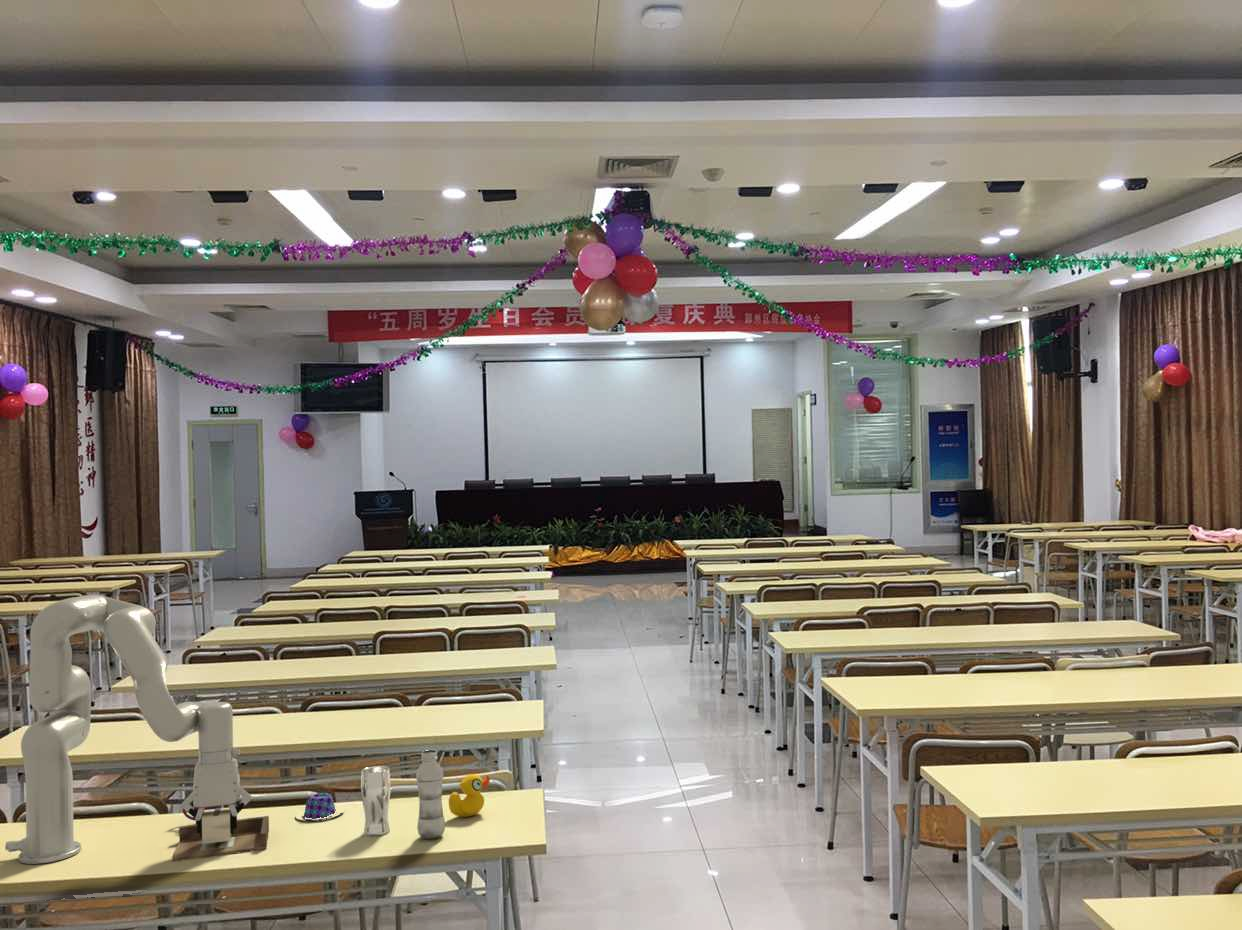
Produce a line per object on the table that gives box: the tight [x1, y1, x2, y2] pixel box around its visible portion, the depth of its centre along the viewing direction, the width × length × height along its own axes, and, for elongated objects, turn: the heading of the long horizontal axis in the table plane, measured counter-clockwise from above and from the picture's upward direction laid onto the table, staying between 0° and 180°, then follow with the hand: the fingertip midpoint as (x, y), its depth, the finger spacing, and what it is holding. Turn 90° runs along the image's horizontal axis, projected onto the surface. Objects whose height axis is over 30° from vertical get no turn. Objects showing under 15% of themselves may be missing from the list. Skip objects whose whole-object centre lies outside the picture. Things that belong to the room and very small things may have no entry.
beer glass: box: [360, 765, 392, 837], centre depth 239 cm, size 7×7×15 cm
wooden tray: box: [171, 815, 270, 862], centre depth 233 cm, size 20×14×4 cm
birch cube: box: [202, 807, 232, 844], centre depth 232 cm, size 6×6×6 cm
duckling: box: [448, 773, 491, 818], centre depth 250 cm, size 11×5×10 cm, turn 127°
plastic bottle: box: [415, 749, 446, 840], centre depth 234 cm, size 6×7×20 cm
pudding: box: [295, 792, 336, 822], centre depth 254 cm, size 12×12×5 cm
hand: (217, 833), depth 232 cm, fingers closed on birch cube, 5 cm apart
